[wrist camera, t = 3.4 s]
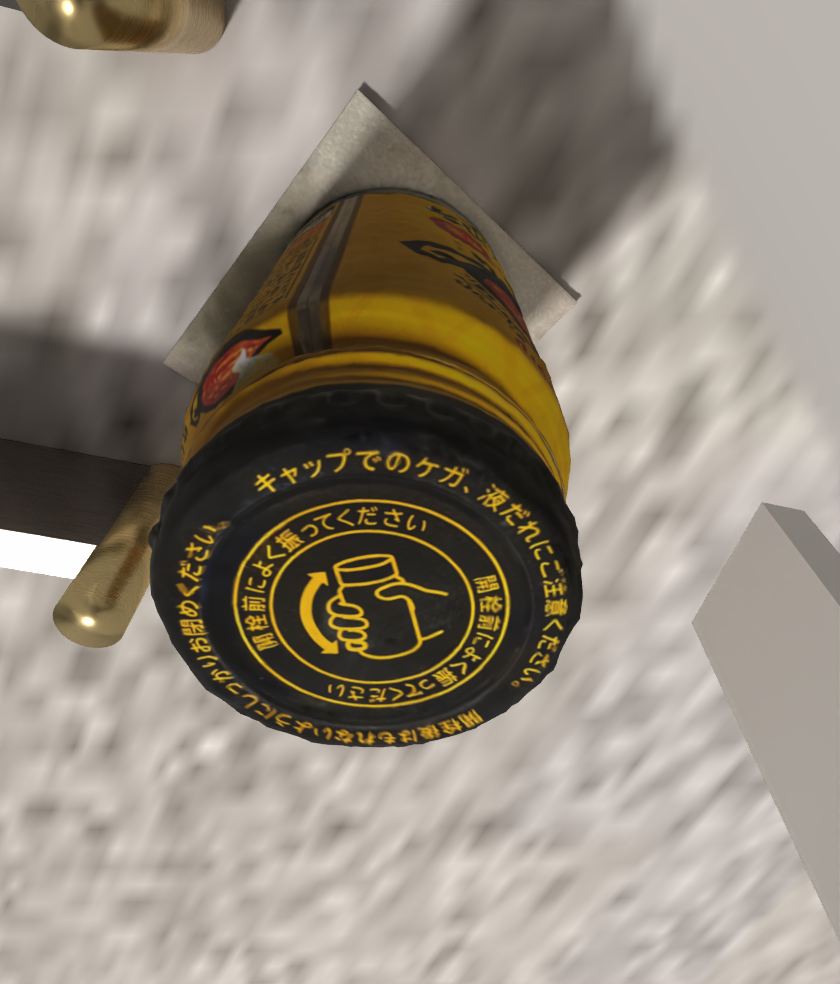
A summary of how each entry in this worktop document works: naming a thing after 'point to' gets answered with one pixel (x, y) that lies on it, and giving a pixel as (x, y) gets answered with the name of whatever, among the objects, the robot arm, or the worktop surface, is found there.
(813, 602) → the robot arm
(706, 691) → the worktop surface
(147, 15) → the grey open rectangular box
